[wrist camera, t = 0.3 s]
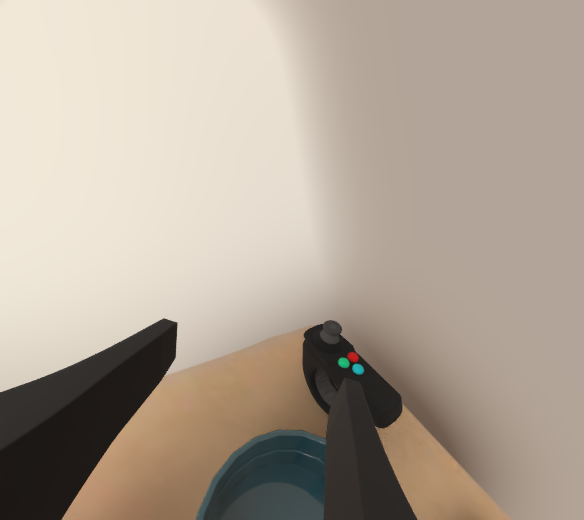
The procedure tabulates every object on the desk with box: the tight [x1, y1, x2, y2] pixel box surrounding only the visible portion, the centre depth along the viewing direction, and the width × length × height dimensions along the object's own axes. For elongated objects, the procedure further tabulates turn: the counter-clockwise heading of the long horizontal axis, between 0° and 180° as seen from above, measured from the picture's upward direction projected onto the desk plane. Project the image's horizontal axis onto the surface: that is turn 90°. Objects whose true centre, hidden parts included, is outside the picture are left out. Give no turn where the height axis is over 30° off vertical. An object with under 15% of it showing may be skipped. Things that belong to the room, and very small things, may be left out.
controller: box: [303, 320, 402, 428], centre depth 30 cm, size 4×12×10 cm, turn 38°
